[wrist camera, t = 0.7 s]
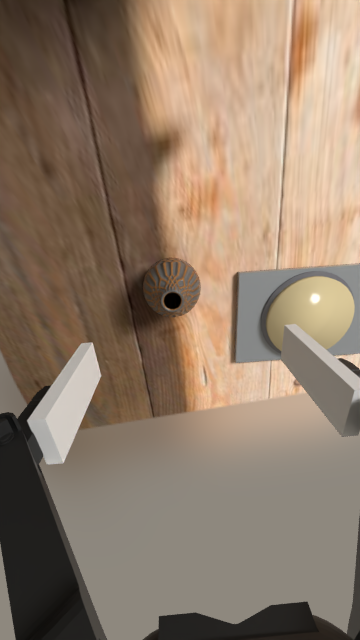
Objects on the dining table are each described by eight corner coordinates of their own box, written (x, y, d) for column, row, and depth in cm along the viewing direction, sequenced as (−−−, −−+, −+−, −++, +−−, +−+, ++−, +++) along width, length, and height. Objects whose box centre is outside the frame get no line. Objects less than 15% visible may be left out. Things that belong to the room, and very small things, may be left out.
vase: (195, 304, 33) (203, 332, 25) (146, 304, 33) (139, 331, 25) (198, 254, 31) (208, 267, 23) (145, 253, 30) (136, 266, 22)
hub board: (237, 272, 32) (241, 275, 30) (383, 261, 32) (396, 264, 30) (234, 360, 37) (238, 367, 35) (359, 350, 38) (368, 357, 36)
